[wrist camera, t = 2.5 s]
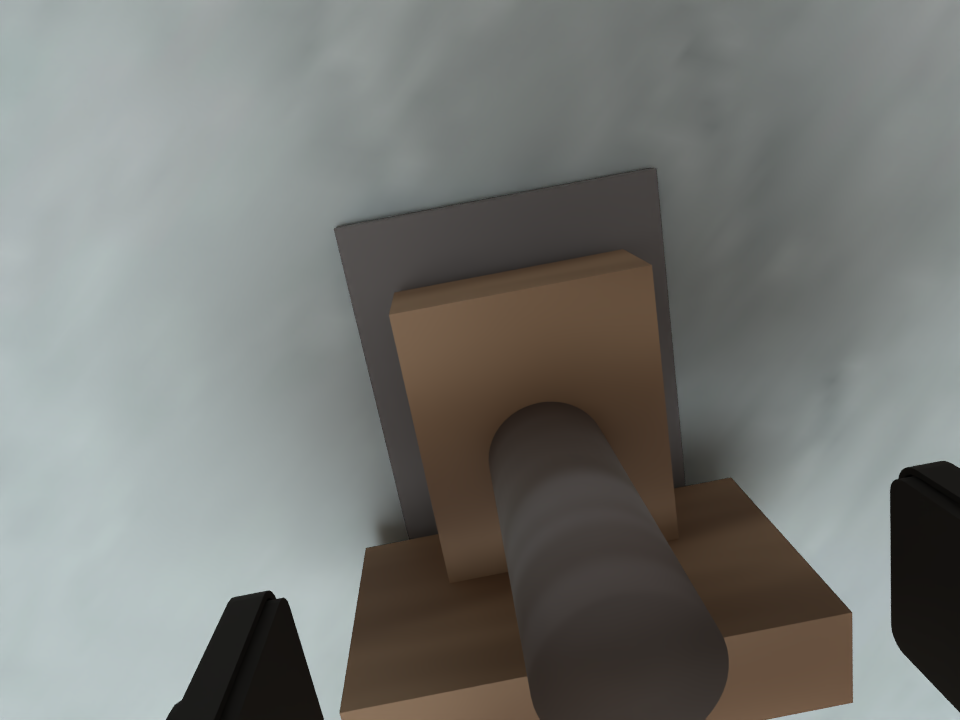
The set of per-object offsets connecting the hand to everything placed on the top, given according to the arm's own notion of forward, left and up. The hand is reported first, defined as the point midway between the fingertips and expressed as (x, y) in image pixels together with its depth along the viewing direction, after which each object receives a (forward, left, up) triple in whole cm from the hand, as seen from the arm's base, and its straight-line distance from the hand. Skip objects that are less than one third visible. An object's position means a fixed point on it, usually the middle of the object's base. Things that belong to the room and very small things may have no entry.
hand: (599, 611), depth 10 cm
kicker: (0, 0, -6) cm, 6 cm away
